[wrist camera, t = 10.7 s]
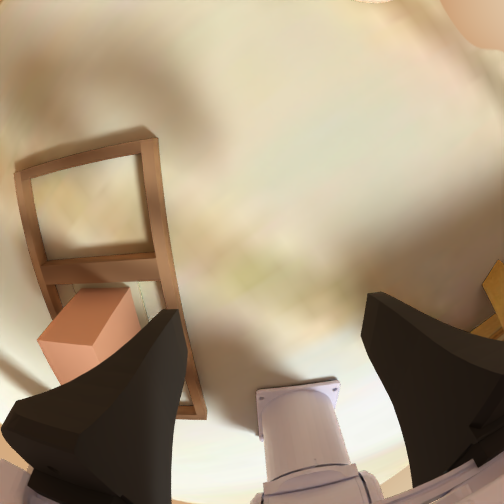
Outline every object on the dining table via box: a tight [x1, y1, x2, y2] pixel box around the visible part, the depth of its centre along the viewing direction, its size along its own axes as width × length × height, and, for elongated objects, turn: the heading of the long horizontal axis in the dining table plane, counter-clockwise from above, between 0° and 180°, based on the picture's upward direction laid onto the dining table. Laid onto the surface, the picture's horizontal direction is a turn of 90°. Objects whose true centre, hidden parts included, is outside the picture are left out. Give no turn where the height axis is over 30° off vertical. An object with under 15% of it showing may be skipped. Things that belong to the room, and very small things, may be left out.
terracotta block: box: [37, 287, 141, 385], centre depth 17 cm, size 4×4×7 cm
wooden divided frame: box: [14, 138, 207, 420], centre depth 20 cm, size 25×12×1 cm, turn 3°
